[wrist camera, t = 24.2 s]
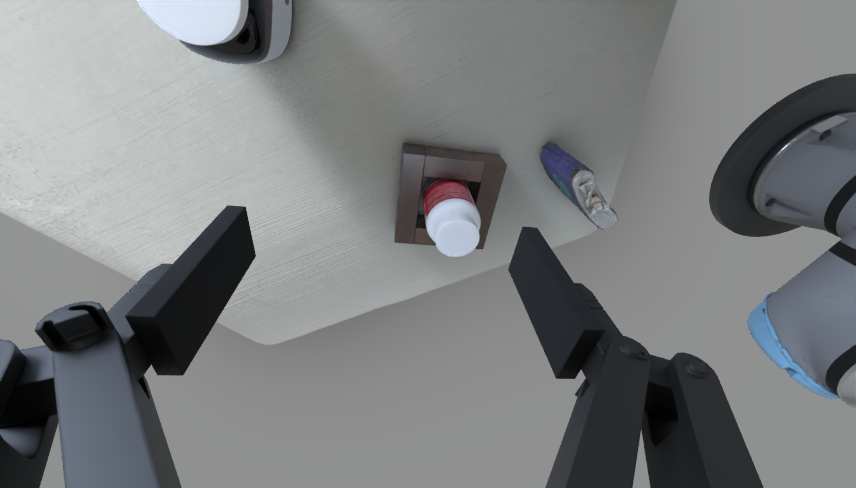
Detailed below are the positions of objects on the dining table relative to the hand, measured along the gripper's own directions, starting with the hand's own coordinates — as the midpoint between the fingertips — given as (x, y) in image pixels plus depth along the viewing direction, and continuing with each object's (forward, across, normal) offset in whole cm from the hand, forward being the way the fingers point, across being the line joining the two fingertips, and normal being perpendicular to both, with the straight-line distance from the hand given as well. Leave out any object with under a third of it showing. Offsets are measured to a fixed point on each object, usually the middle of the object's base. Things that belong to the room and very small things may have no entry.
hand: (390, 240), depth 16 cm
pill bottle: (+26, +7, -9) cm, 28 cm away
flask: (+26, +22, -4) cm, 34 cm away
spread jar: (+26, -16, +10) cm, 32 cm away
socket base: (+26, +7, -9) cm, 28 cm away
